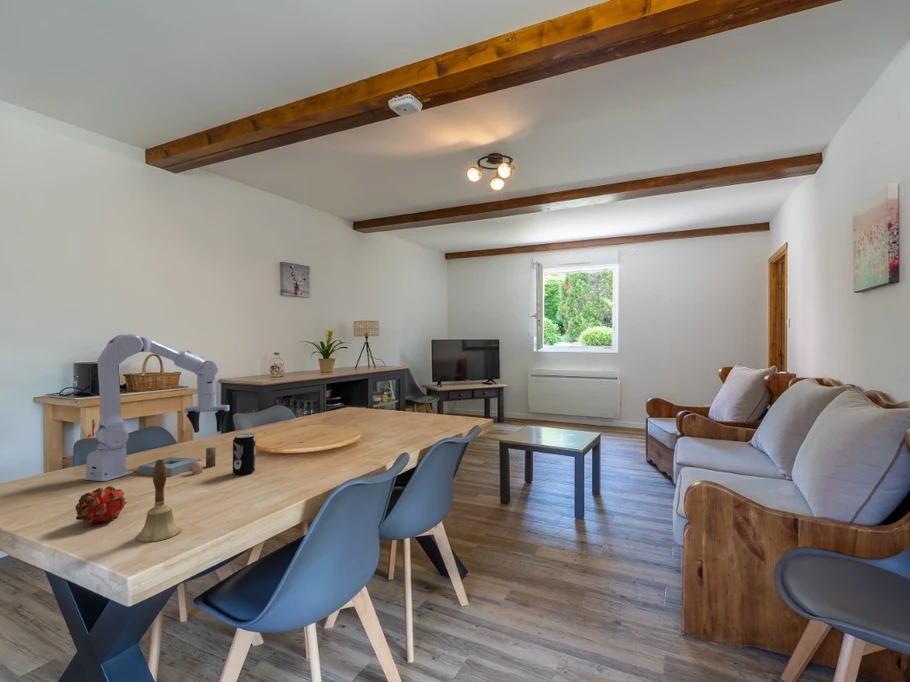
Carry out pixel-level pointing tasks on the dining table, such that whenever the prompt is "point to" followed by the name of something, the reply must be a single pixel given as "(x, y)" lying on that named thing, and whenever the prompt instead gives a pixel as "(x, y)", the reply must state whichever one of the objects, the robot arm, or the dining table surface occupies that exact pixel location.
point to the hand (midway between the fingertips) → (208, 431)
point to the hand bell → (159, 511)
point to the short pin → (197, 467)
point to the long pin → (210, 457)
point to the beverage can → (244, 454)
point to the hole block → (170, 466)
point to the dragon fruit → (100, 505)
